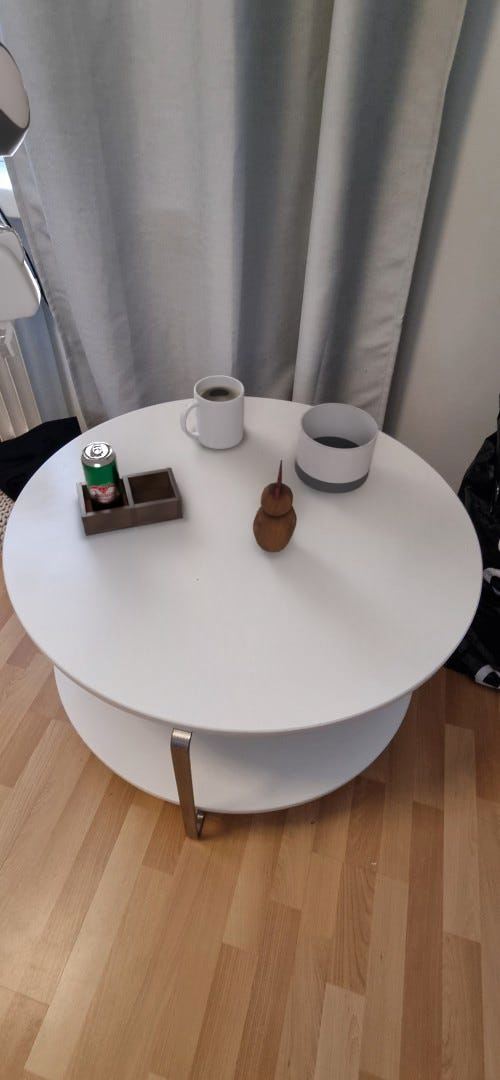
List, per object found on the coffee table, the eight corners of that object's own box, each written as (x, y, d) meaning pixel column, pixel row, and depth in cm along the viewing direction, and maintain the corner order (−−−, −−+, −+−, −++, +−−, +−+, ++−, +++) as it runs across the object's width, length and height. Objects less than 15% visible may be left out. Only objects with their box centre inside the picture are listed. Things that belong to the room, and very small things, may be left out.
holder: (85, 536, 91) (81, 517, 88) (80, 501, 96) (76, 482, 93) (183, 518, 94) (181, 499, 91) (172, 485, 100) (171, 467, 97)
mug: (245, 423, 113) (247, 377, 105) (239, 453, 106) (241, 407, 99) (189, 418, 113) (187, 371, 106) (180, 448, 107) (177, 401, 99)
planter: (381, 487, 101) (394, 438, 94) (317, 507, 97) (325, 458, 89) (342, 444, 109) (351, 396, 101) (281, 462, 105) (285, 412, 97)
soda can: (93, 523, 92) (79, 463, 83) (92, 501, 95) (79, 442, 86) (125, 519, 93) (115, 459, 84) (124, 498, 96) (114, 438, 87)
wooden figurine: (267, 522, 94) (273, 448, 83) (299, 537, 92) (309, 462, 81) (245, 549, 90) (248, 474, 79) (278, 564, 88) (286, 490, 77)
